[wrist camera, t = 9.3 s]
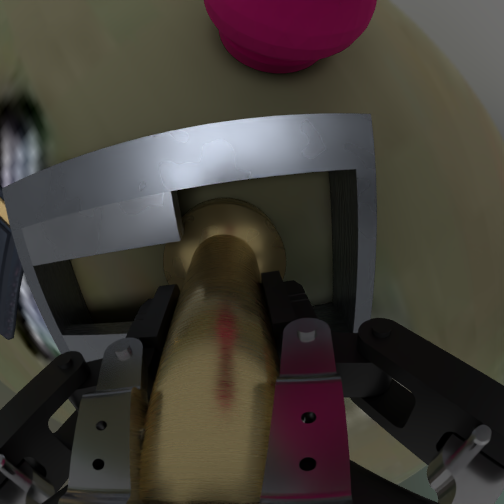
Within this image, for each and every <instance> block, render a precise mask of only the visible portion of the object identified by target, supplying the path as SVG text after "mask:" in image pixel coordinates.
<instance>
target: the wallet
mask: <svg viewBox="0 0 504 504" xmlns="http://www.w3.org/2000/svg"><path fill="white" fill-rule="evenodd" d="M23 272H24V270H23V268H22V265H21V262H20V259H19V256H18V252H17V249H16V246H15V242H14V239H13V235H12V232H11V228H10V224H9V220H8V216H7V211H6V207H5V202H4V197H3V192H2V187H1V186H0V334H1V335H2V336H4V337H5V338H6V339H8V340H10V339H12V338H14V332H15V325H16V314H17V306H18V298H19V292H20V286H21V281H22V277H23Z"/></svg>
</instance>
